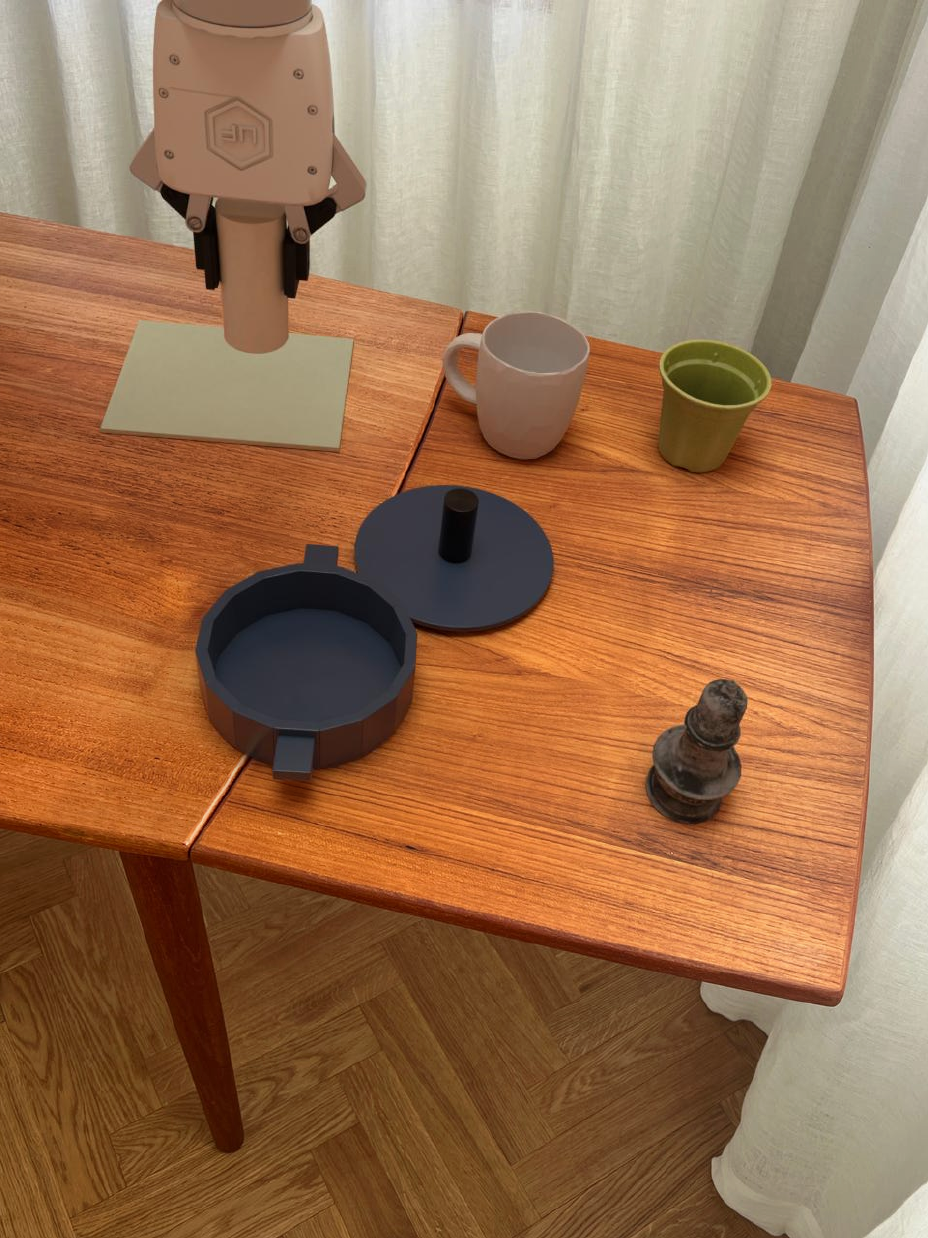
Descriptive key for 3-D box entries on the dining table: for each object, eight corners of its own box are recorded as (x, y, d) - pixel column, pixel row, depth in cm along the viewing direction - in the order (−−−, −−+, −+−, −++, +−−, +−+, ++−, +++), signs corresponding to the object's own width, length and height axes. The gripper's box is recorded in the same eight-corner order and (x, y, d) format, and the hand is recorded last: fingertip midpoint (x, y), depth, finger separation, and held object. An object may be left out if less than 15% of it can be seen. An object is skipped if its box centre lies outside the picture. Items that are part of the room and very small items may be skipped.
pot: (177, 797, 71) (170, 758, 68) (225, 572, 84) (221, 529, 81) (405, 811, 72) (410, 773, 69) (417, 586, 85) (421, 545, 82)
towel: (100, 432, 93) (99, 428, 93) (139, 323, 104) (139, 319, 104) (339, 452, 95) (339, 447, 94) (353, 342, 105) (353, 338, 105)
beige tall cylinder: (218, 350, 75) (209, 219, 68) (229, 313, 78) (221, 184, 71) (284, 357, 75) (281, 227, 68) (292, 320, 78) (290, 191, 71)
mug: (586, 429, 100) (608, 335, 93) (542, 484, 95) (560, 388, 87) (464, 378, 103) (475, 282, 96) (414, 427, 98) (422, 330, 90)
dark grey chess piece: (711, 750, 78) (762, 640, 69) (738, 823, 74) (796, 716, 65) (630, 758, 77) (672, 646, 68) (654, 832, 73) (701, 725, 64)
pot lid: (346, 629, 82) (347, 567, 77) (361, 487, 92) (363, 424, 87) (555, 644, 83) (570, 583, 78) (547, 502, 93) (560, 440, 88)
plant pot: (673, 496, 95) (698, 416, 89) (619, 429, 101) (640, 348, 94) (762, 474, 98) (793, 394, 92) (705, 410, 104) (731, 331, 97)
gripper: (63, -12, 57) (111, 301, 70) (393, 28, 58) (377, 328, 71) (99, -62, 62) (137, 239, 75) (402, -25, 63) (386, 266, 76)
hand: (254, 280), depth 73 cm, fingers closed on beige tall cylinder, 4 cm apart
